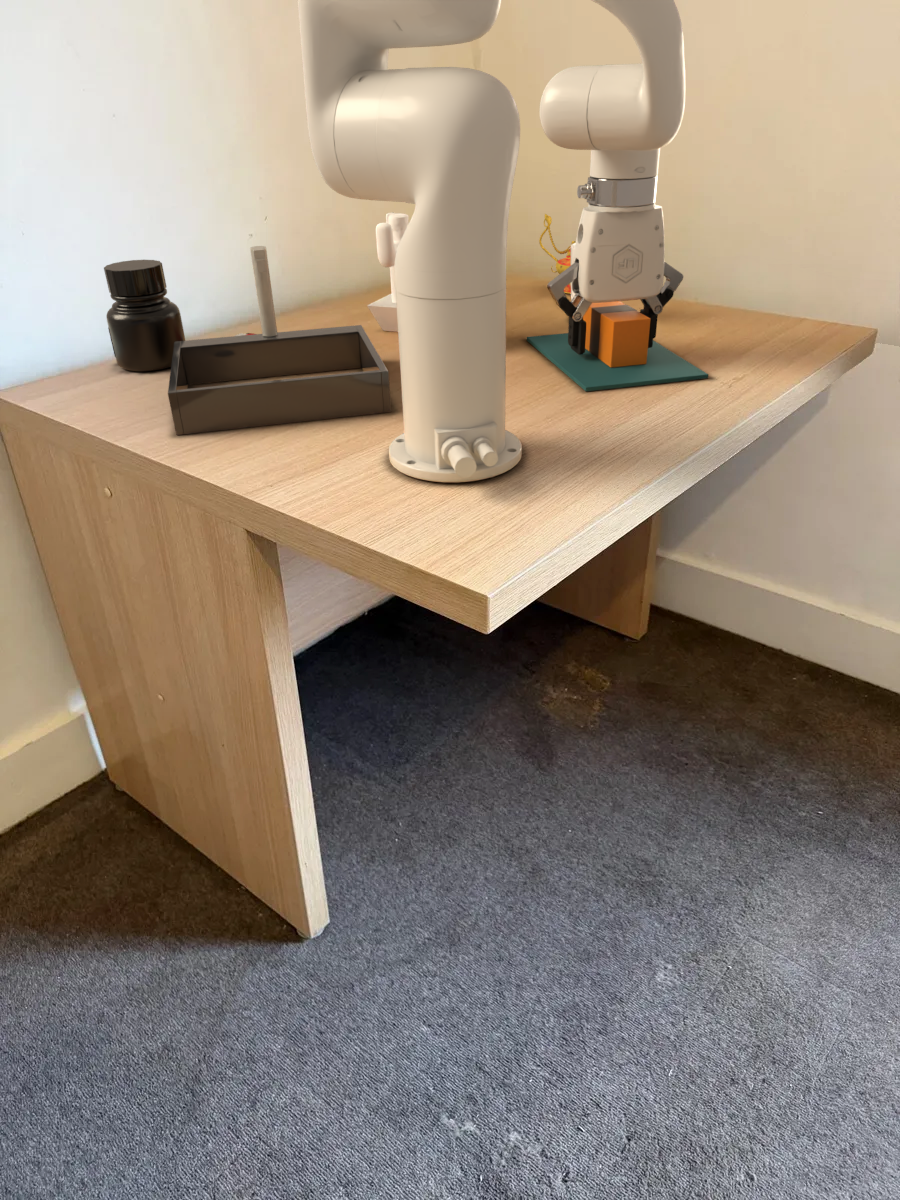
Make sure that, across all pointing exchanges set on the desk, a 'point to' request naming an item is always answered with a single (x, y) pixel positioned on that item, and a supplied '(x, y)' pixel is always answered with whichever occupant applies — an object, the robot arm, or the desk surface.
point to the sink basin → (275, 373)
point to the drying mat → (601, 376)
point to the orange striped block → (617, 334)
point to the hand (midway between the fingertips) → (611, 347)
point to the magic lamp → (561, 263)
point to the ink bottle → (142, 316)
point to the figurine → (386, 251)
